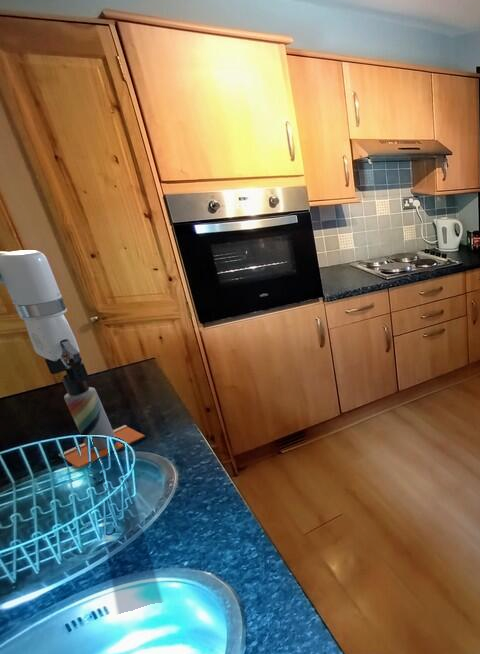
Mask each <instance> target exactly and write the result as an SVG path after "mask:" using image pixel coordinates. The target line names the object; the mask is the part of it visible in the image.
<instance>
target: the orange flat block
mask: <svg viewBox="0 0 480 654" xmlns="http://www.w3.org/2000/svg"><path fill="white" fill-rule="evenodd" d="M113 432H114V434H115V437H117V438H120V439H122V440H124V441H126V442H127V443H128V445H131V444H132V443H134V442H135V443H136V441H139V440H142V439H143V438H145V437H146V436H145V434H143V433H141V432H139V431H137V430H135V429H133V428H131V427H128V425H126V424H124V425H122V426H119V427H118V428H115V429H113ZM78 446H80V449H81V457H80V455H79V453H78V450H77V448H76V447H77V446H75V447H72V448H70V449H67V450H66V451H63V452H64V455H65V457H66V460H67V461H66V460H65V461H66V462H68V463H69V464H71V466H74V467H76V468H77V469H80V468H83V467H85V466H86V465H89V464H90V463H89V458H88V449H87V447H86V445H85V443H84V442H83V443H80V444H78ZM124 447H125V446H124V445H123V444H121V443H119V442H116V443H115V448H116V451H118V450H121V449H123V448H124ZM98 452H99V455H100V458H99V459H101V458H104V457H105V456H108V455H109V454H108V449H107V448H105V449H102V450H99V451H98ZM60 454H61V453H59V454H58V457H60V458H61V459H63V458H62V456H61V455H60ZM99 459H98V458H97V455H96V452H95V451H91V463H93V462H96V461H97V460H99Z"/></svg>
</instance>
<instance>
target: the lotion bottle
mask: <svg viewBox="0 0 480 654" xmlns="http://www.w3.org/2000/svg"><path fill="white" fill-rule="evenodd" d="M61 382H62V383H63V386H64V388H65V390H66V392H67V393H66V394H64V396H63V398H64V401H65V403H66V406H67V408H68V410H69V413H70V414H71V417H72V419H73V421H74V423H75V426H76V428H77V431H78V432H79V434H80V436H81V435H107V436H113V437H115V434H114V432H113V430H114V429H113V427H112V425H111V422H110V420H109V418H108V416H107V413H106V411H105V409H104V406H103V404H102V401H101V399H100V397H99V394H98V392H97V390H96V388H95V387H91V386H89V384H88V382H87V380H85V381H82V382H79V383H76V384H71V383H70V380H69V378H68V376H67V374H65V375H63V376H62V379H61ZM81 438H82V441H83V443H85V445H86V447H87V449H88V438H85V437H82V436H81ZM92 442H93V448H91V451H95V450H94V447H96V448H97V449H98V451H99V450H102V449H105V448H107V441H106V439H103V438H93V439H92Z"/></svg>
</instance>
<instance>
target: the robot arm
mask: <svg viewBox="0 0 480 654" xmlns="http://www.w3.org/2000/svg"><path fill="white" fill-rule="evenodd" d="M57 283H58V282H57V281H56V278H55V276H54V273H53V271H52V267H51V266H50V263H49V261H48V258H47V256H46V255H45V254H44V253H43V252H41V251H39V250H32V249H31V250H30V249H29V250H28V249H26V250H25V249H24V250H14V251H0V286H2V285H4V286H5V287H6V290H7V293H8V295H9V297H10V299H11V301H12V304H13V306H14V308H15V311H16V313H17V315H18V317H19V319H20V320H23V322H24V325H25V328H26V331H27V334H28V336H29V337H28V338H29V339H30V342H31V344H32V347H33V350H34V352H35V353H36V354H37V355H38V356H41V357H42V358H44V361H45V364H46V366H47V368H48V370H49V373H50V374H51V375H57V374H59V373H62V372H63V373H64V372H65V373H66V375H67V376H68V378H69V380H70V383H71V384H76V383H79V382H82V381H85V380H86V381H88V380H89V379H90V376H89V374H88V371H87V369H86V366H85V364H84V361H83V360H82V357H81V355H80V348H79V345H78V342H77V339H76V337H75V334H74V333H73V330H72V328H71V326H70V324H69V321H68V320H67V318H66V316H65V315H64V314H65V313H67V312H68V308H67V306H66V304H65V300H64V299H63V296H62V293H61V291H60V289H59V286H58V284H57Z"/></svg>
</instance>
